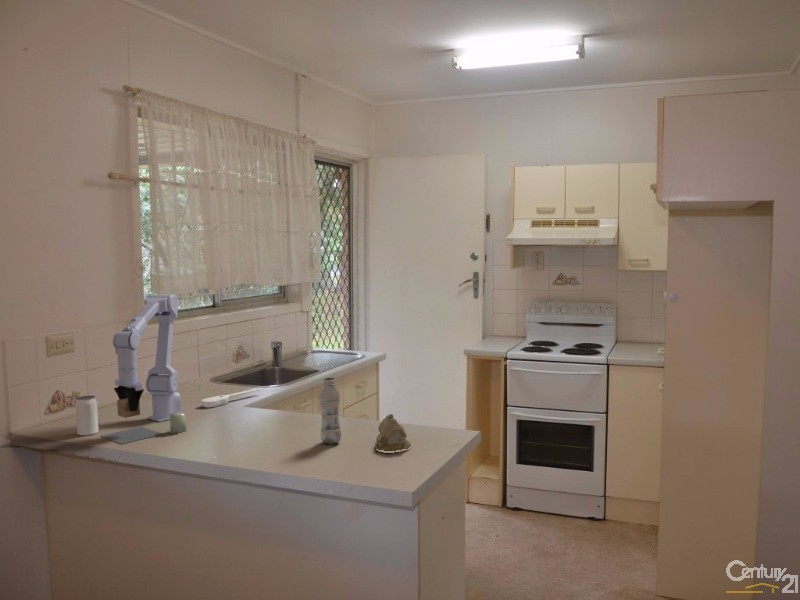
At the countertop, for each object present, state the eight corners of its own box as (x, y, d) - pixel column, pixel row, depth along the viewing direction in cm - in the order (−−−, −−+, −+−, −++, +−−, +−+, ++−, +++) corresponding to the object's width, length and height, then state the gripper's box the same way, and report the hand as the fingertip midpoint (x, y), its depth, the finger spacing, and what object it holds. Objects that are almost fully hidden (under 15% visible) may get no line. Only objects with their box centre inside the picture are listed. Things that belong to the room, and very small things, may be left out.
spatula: (256, 393, 281) (256, 387, 281) (265, 395, 277) (265, 388, 277) (197, 407, 260) (197, 399, 260) (206, 409, 256) (206, 401, 256)
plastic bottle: (325, 447, 207) (323, 382, 205) (317, 441, 213) (315, 378, 211) (344, 444, 210) (343, 379, 208) (336, 438, 216) (335, 376, 214)
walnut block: (132, 412, 226) (131, 397, 226) (140, 414, 223) (139, 399, 222) (117, 415, 222) (117, 400, 222) (125, 417, 219) (124, 402, 219)
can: (90, 436, 222) (88, 400, 221) (72, 435, 224) (70, 399, 223) (102, 431, 229) (100, 395, 228) (85, 430, 230) (83, 395, 229)
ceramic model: (415, 452, 201) (415, 418, 201) (378, 455, 199) (377, 421, 198) (403, 439, 215) (402, 407, 214) (368, 442, 212) (367, 410, 211)
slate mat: (141, 427, 233) (141, 426, 233) (162, 434, 224) (162, 433, 224) (100, 436, 222) (100, 435, 222) (121, 444, 213) (121, 443, 213)
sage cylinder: (181, 428, 230) (180, 411, 230) (189, 431, 227) (188, 413, 226) (167, 432, 226) (166, 414, 226) (175, 434, 223) (174, 416, 223)
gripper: (105, 367, 223) (107, 408, 225) (126, 372, 214) (128, 415, 215) (126, 364, 229) (128, 404, 230) (147, 369, 219) (149, 411, 220)
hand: (129, 409), depth 223 cm, fingers closed on walnut block, 5 cm apart
